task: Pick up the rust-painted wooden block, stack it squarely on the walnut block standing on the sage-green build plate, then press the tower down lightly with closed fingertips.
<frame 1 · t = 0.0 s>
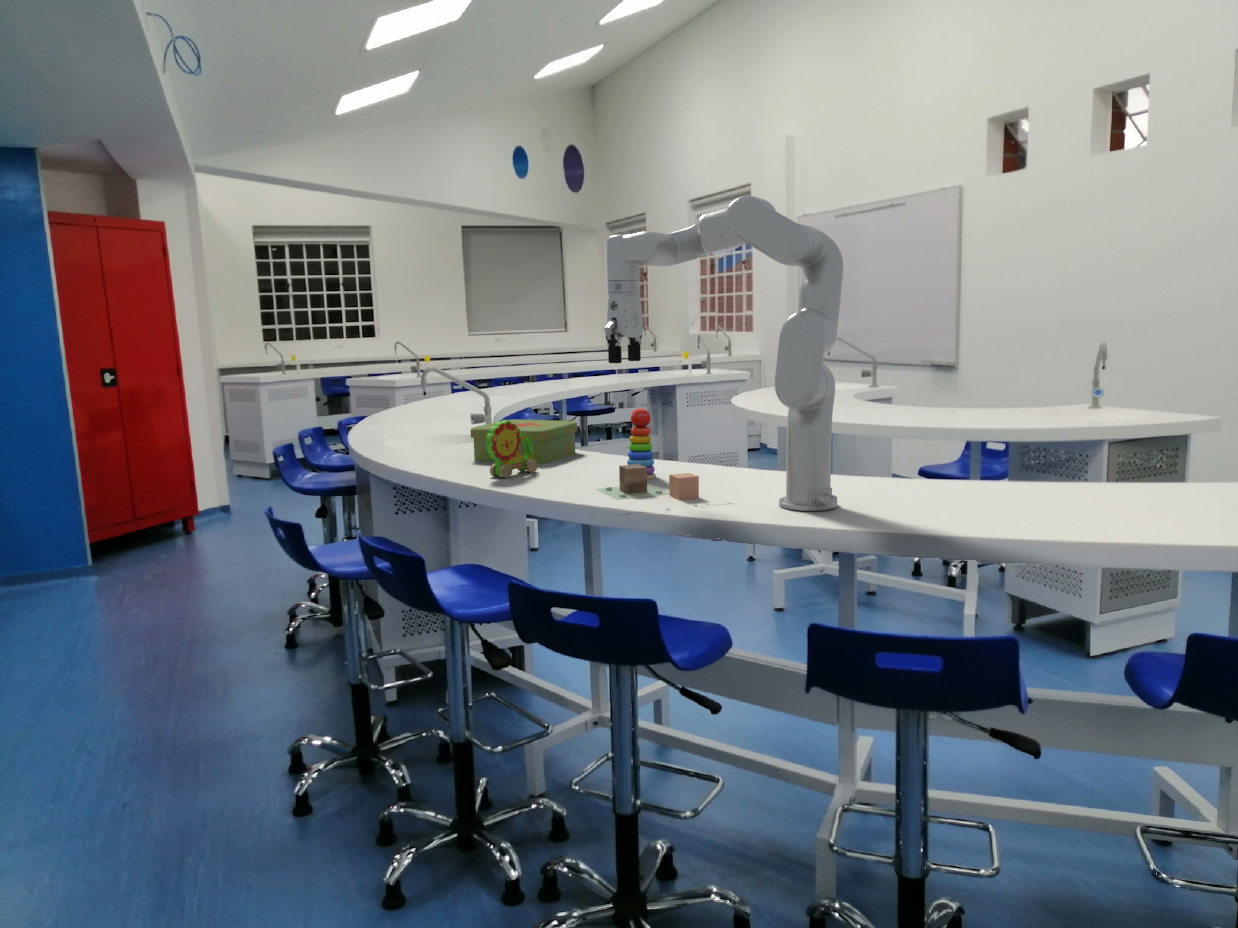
hand: (624, 362, 210), 31 cm above the lab bench, tool pointing down, fingers open, 9 cm apart
toy lion: (511, 476, 240), on the lab bench
first aid kit: (525, 457, 273), on the lab bench
rust block: (684, 501, 202), on the lab bench
build plate: (633, 495, 209), on the lab bench
walnut block: (633, 491, 209), point 1 cm above the lab bench, touching build plate
stacking toy: (640, 481, 228), on the lab bench
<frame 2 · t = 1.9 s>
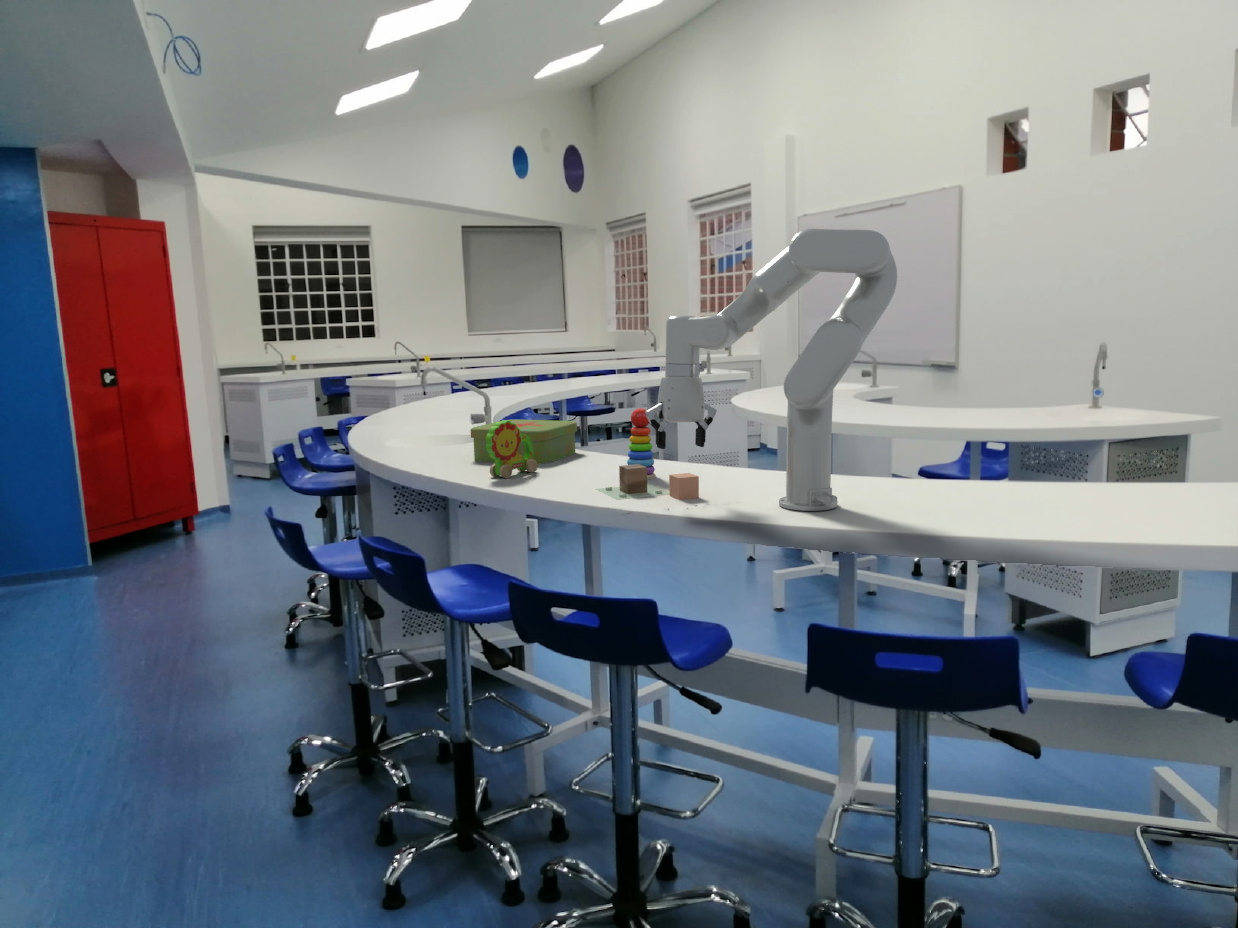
hand: (680, 447, 200), 12 cm above the lab bench, tool pointing down, fingers open, 9 cm apart
nothing on the lab bench moved.
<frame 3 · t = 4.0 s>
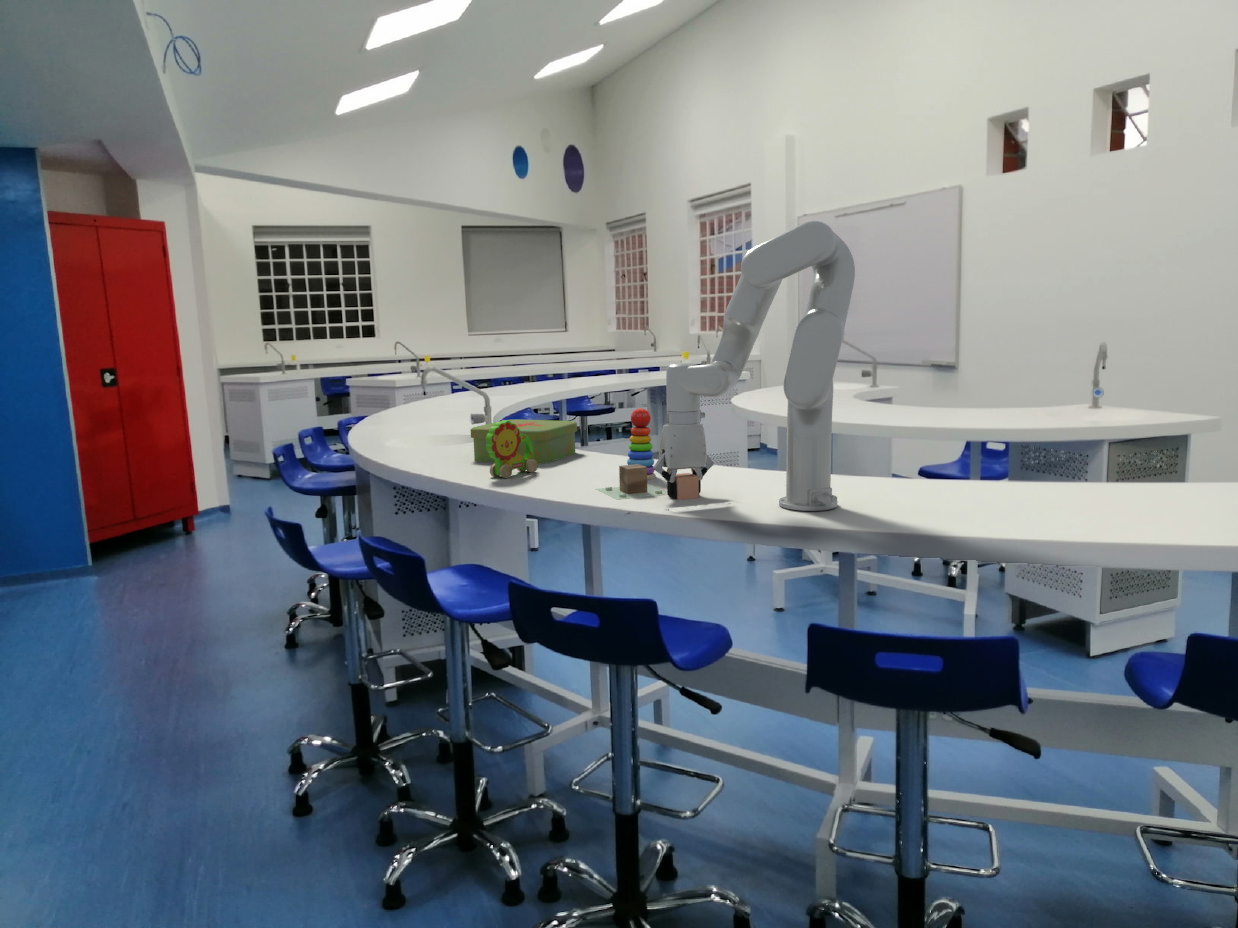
hand: (684, 496, 202), 1 cm above the lab bench, tool pointing down, fingers closed on rust block, 5 cm apart
rust block: (684, 501, 202), on the lab bench, touching gripper
everything else where it was.
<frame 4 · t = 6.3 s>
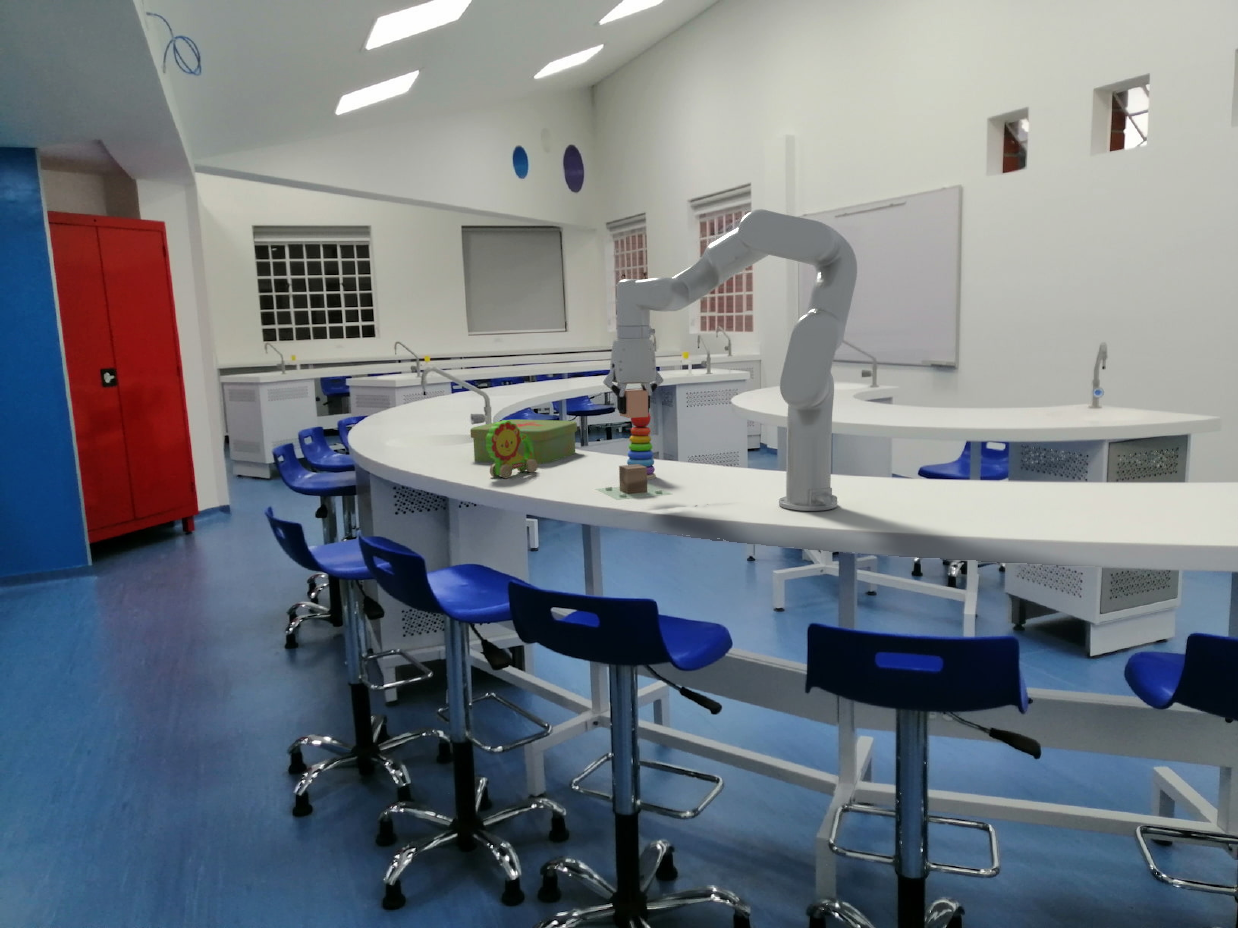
hand: (633, 412, 206), 20 cm above the lab bench, tool pointing down, fingers closed on rust block, 5 cm apart
rust block: (633, 416, 206), point 19 cm above the lab bench, touching gripper
everything else where it was.
when the fingers open (9 cm above the lab bench, at t = 9.1 s): rust block drops 1 cm, resting on walnut block.
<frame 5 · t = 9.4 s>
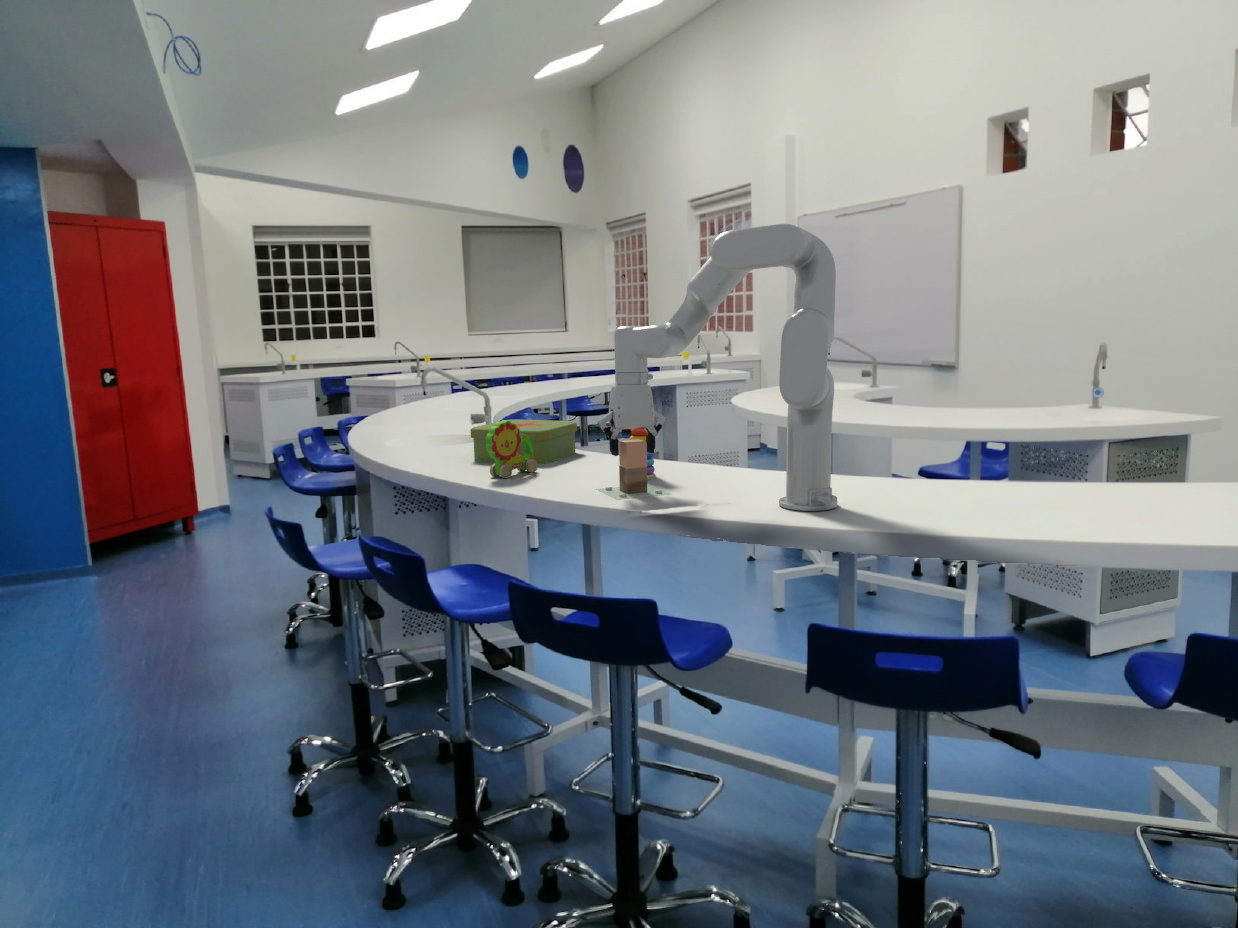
hand: (632, 453, 208), 10 cm above the lab bench, tool pointing down, fingers open, 8 cm apart
rust block: (633, 466, 208), point 7 cm above the lab bench, touching walnut block
walnut block: (633, 491, 209), point 1 cm above the lab bench, touching build plate, rust block
everything else where it was.
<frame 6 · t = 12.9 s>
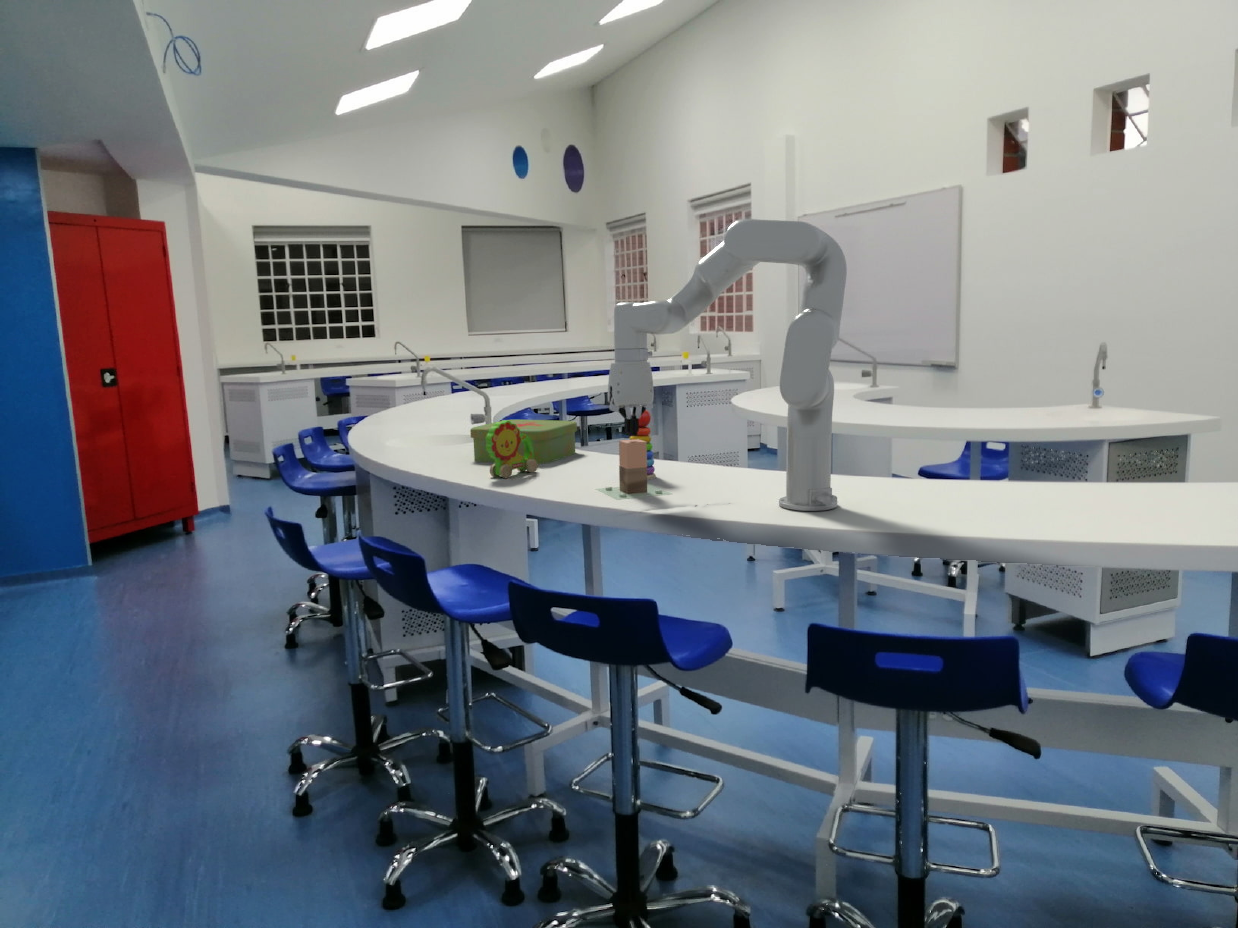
hand: (631, 435, 207), 14 cm above the lab bench, tool pointing down, fingers closed
nothing on the lab bench moved.
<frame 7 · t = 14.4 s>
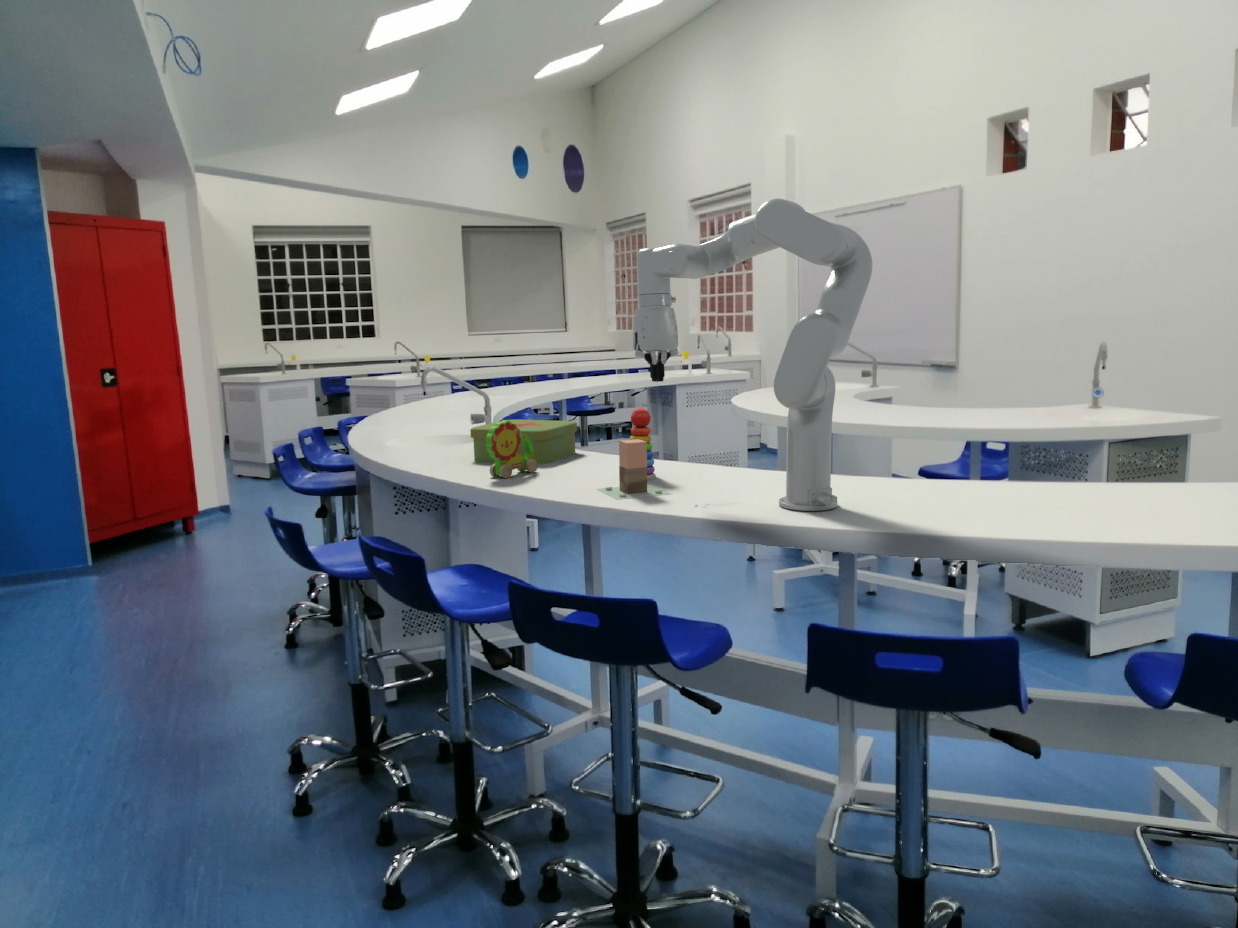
hand: (657, 381, 209), 27 cm above the lab bench, tool pointing down, fingers closed
nothing on the lab bench moved.
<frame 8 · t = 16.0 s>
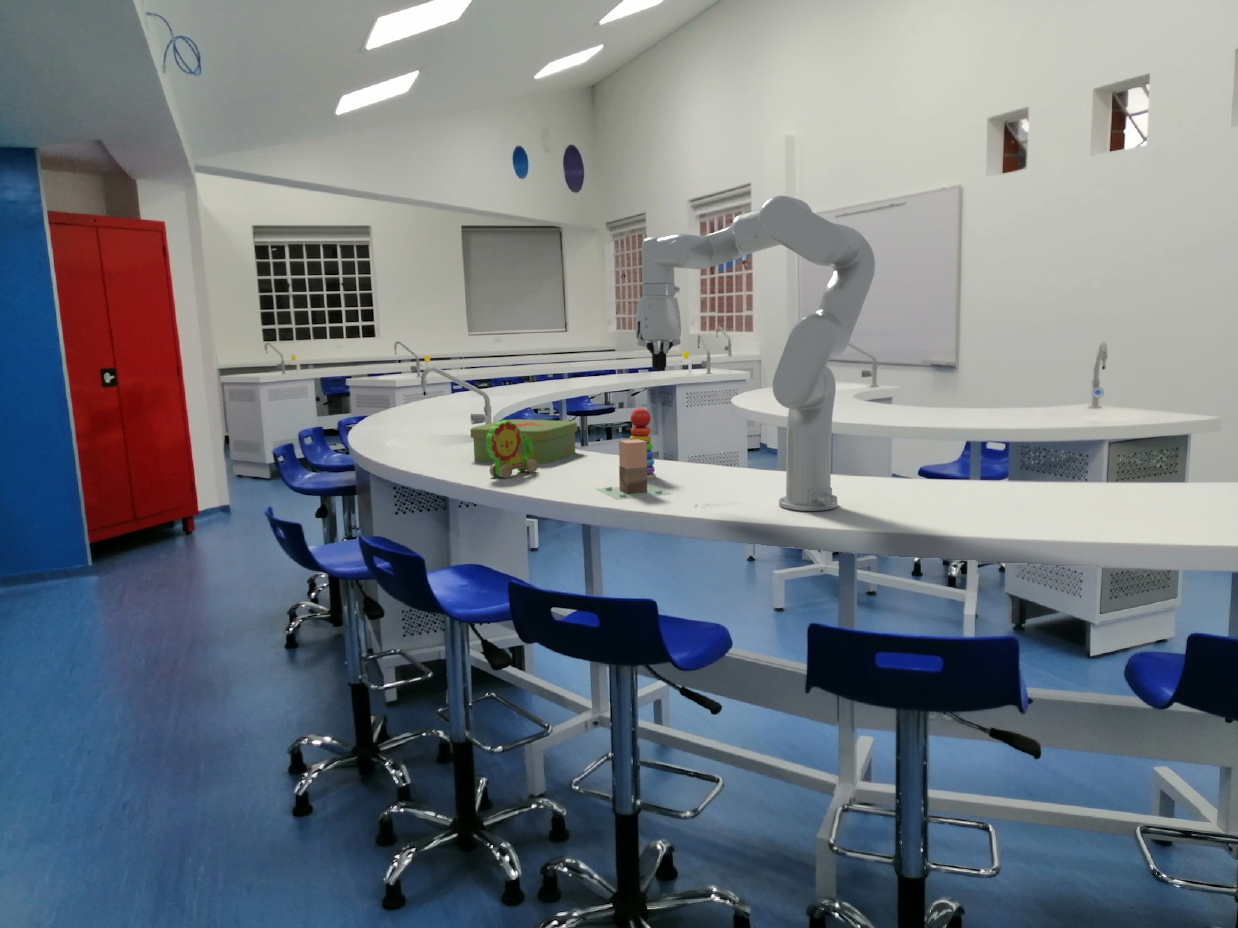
hand: (659, 370, 209), 29 cm above the lab bench, tool pointing down, fingers closed
nothing on the lab bench moved.
at the end: rust block 0.1 cm off-centre on the walnut block, point 6.0 cm above the walnut block's base; rust block tilted 0°; walnut block inside the target area on the build plate (0.0 cm from its centre), point 1.0 cm above the build plate's base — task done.
